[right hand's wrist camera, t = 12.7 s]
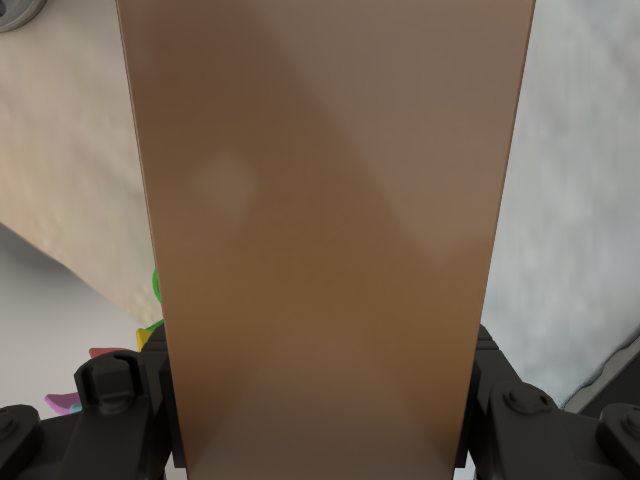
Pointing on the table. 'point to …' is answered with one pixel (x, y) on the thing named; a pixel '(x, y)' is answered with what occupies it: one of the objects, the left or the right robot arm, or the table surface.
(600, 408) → the grey black box
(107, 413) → the right robot arm
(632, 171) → the table surface
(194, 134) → the bar
